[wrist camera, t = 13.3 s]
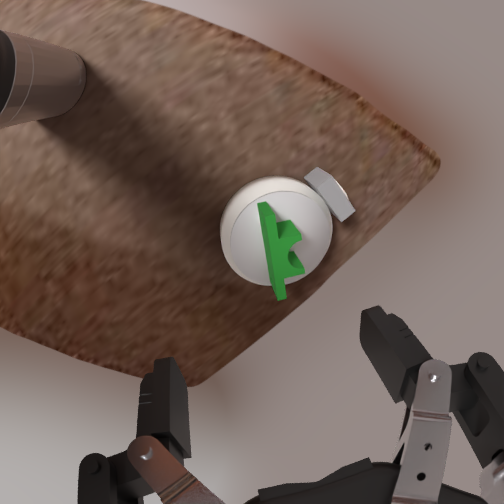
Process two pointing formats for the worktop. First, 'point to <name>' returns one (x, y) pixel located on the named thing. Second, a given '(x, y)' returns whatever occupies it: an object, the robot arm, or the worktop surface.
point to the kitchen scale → (285, 208)
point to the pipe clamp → (279, 249)
